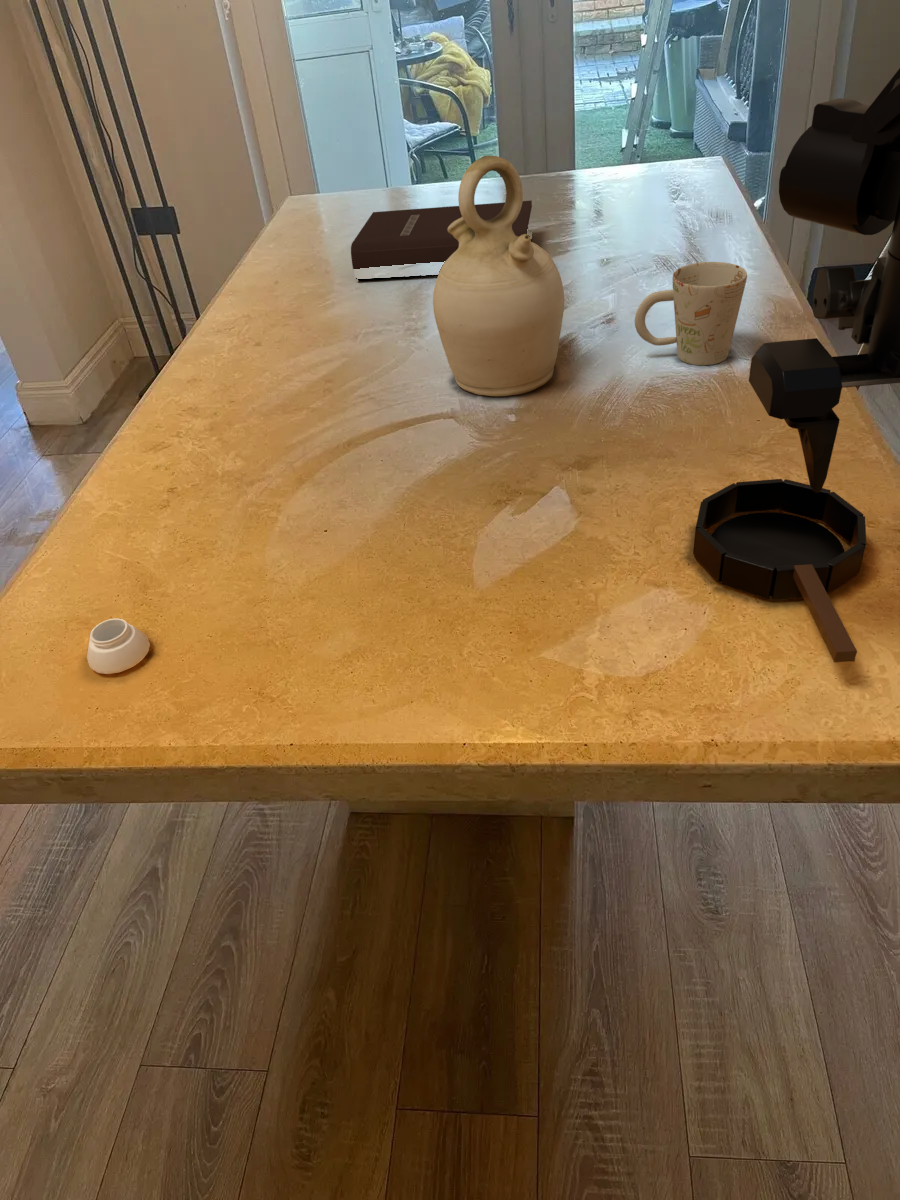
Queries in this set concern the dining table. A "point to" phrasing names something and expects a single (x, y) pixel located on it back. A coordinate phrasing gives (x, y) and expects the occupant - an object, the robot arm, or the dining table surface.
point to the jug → (497, 296)
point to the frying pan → (784, 548)
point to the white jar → (116, 646)
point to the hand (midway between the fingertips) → (883, 484)
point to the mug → (700, 311)
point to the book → (419, 234)
